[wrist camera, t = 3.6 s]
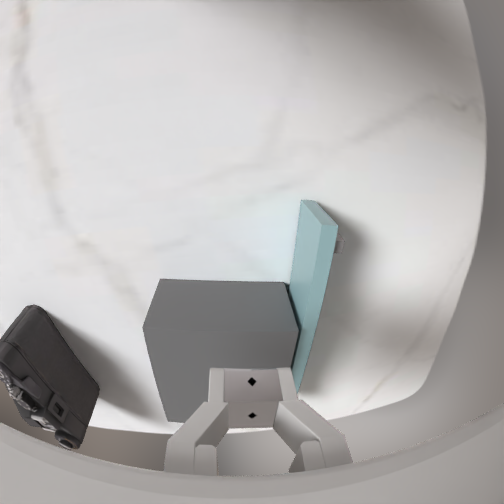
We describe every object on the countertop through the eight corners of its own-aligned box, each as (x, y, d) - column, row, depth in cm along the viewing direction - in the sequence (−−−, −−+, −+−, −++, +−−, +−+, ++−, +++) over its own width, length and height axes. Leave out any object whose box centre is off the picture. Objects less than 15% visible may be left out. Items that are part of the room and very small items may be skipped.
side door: (301, 199, 20) (321, 224, 15) (325, 201, 20) (351, 226, 16) (271, 387, 29) (277, 425, 24) (287, 386, 29) (295, 423, 24)
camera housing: (160, 278, 22) (139, 335, 16) (284, 282, 23) (302, 339, 17) (176, 382, 28) (169, 434, 22) (268, 384, 29) (275, 436, 23)
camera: (-6, 312, 23) (-45, 365, 14) (43, 299, 23) (-5, 368, 14) (54, 391, 29) (33, 445, 21) (110, 391, 29) (91, 457, 20)
